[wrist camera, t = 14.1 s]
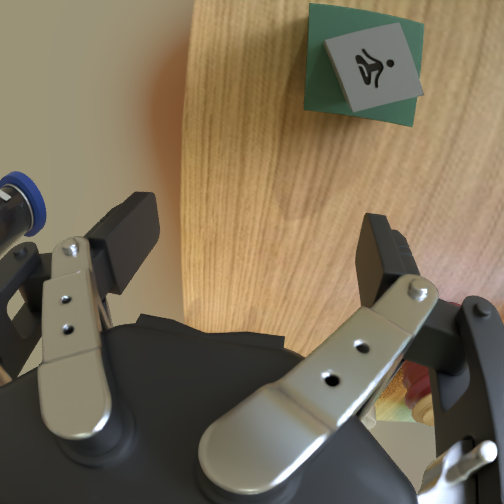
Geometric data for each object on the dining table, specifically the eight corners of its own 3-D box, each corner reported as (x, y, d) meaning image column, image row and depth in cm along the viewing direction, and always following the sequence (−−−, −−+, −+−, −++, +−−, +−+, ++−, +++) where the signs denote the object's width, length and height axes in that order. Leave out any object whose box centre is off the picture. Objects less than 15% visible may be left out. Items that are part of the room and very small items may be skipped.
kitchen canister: (477, 331, 43) (503, 421, 29) (414, 363, 49) (424, 452, 35) (456, 285, 39) (492, 389, 25) (382, 325, 45) (392, 430, 31)
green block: (306, 97, 30) (303, 110, 23) (310, 15, 24) (309, 2, 18) (391, 110, 28) (412, 127, 22) (399, 29, 23) (424, 23, 17)
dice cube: (322, 43, 20) (324, 40, 16) (383, 28, 18) (399, 22, 14) (346, 101, 22) (353, 112, 18) (404, 86, 20) (423, 95, 16)
